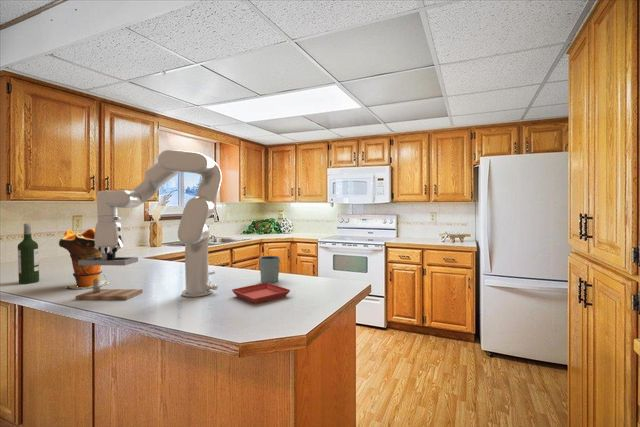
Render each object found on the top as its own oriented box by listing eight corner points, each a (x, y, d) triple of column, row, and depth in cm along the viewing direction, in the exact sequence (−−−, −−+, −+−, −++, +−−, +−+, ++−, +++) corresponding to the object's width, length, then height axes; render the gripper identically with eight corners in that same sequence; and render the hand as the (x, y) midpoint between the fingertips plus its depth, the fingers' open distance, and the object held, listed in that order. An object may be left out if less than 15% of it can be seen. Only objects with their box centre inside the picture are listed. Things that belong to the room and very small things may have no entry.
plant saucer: (291, 297, 140) (291, 289, 140) (254, 306, 128) (253, 298, 127) (266, 289, 153) (266, 282, 153) (230, 297, 141) (230, 289, 141)
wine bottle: (41, 281, 172) (39, 223, 171) (22, 284, 165) (19, 224, 164) (35, 279, 176) (33, 222, 175) (16, 283, 169) (14, 223, 168)
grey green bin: (258, 279, 172) (258, 256, 171) (278, 278, 175) (277, 255, 174) (261, 284, 162) (260, 259, 162) (281, 282, 165) (281, 258, 165)
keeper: (142, 292, 148) (142, 275, 148) (126, 299, 137) (126, 281, 137) (95, 292, 149) (94, 275, 149) (75, 299, 138) (75, 281, 138)
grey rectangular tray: (138, 261, 147) (137, 250, 146) (124, 265, 138) (124, 253, 137) (94, 261, 148) (94, 250, 148) (78, 265, 139) (78, 253, 139)
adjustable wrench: (190, 284, 166) (190, 280, 166) (178, 283, 167) (178, 279, 167) (217, 273, 190) (217, 270, 190) (207, 272, 192) (206, 269, 192)
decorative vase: (76, 292, 148) (72, 229, 148) (52, 288, 160) (49, 230, 160) (123, 282, 166) (120, 226, 166) (99, 280, 178) (96, 227, 178)
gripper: (131, 219, 145) (132, 261, 146) (96, 219, 146) (97, 261, 147) (120, 220, 138) (121, 264, 138) (83, 220, 139) (84, 264, 139)
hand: (109, 262), depth 143 cm, fingers closed on grey rectangular tray
